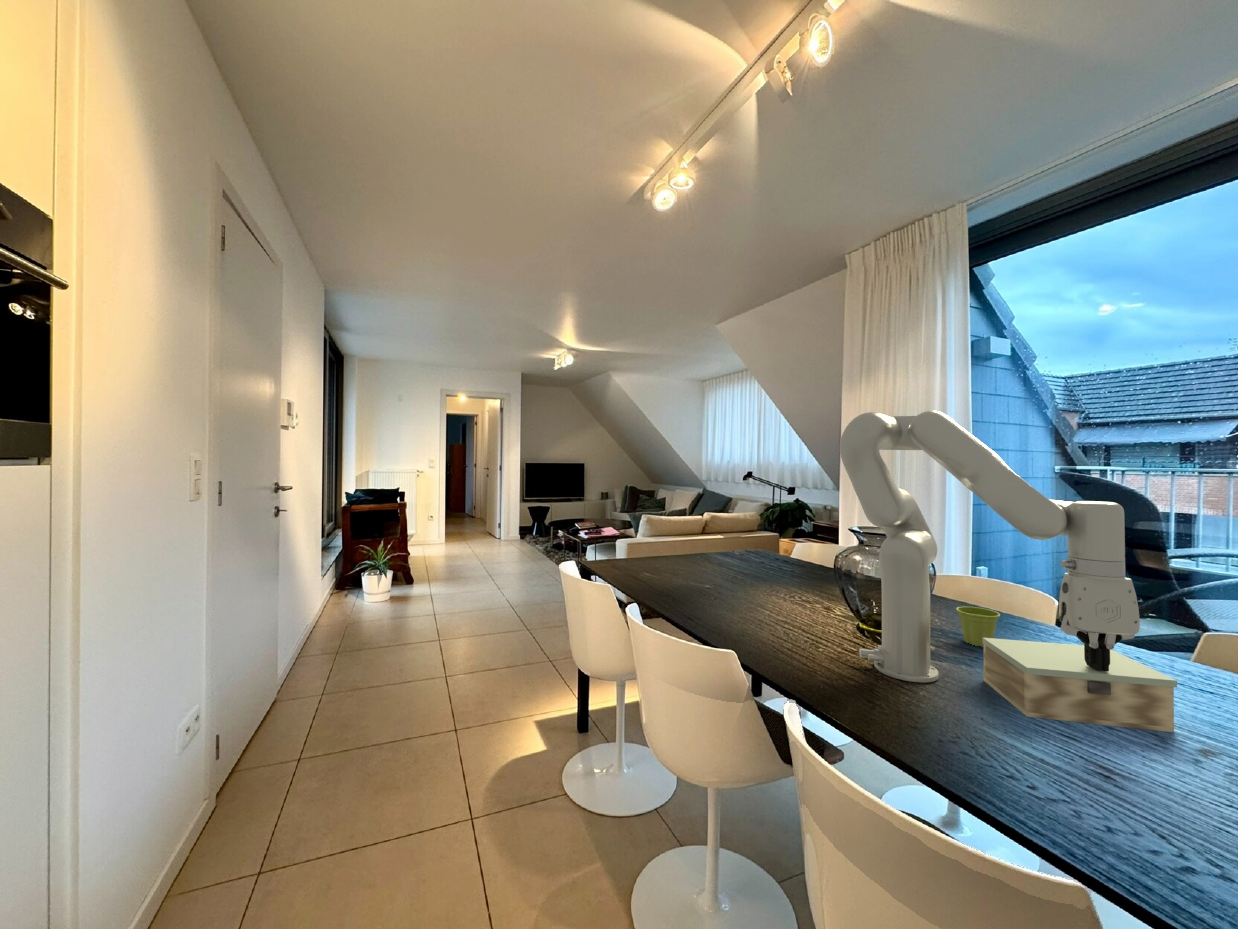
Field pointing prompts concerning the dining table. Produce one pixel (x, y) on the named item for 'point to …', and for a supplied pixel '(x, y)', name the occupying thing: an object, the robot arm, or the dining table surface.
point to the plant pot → (977, 624)
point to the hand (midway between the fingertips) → (1097, 668)
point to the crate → (1081, 697)
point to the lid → (1073, 663)
